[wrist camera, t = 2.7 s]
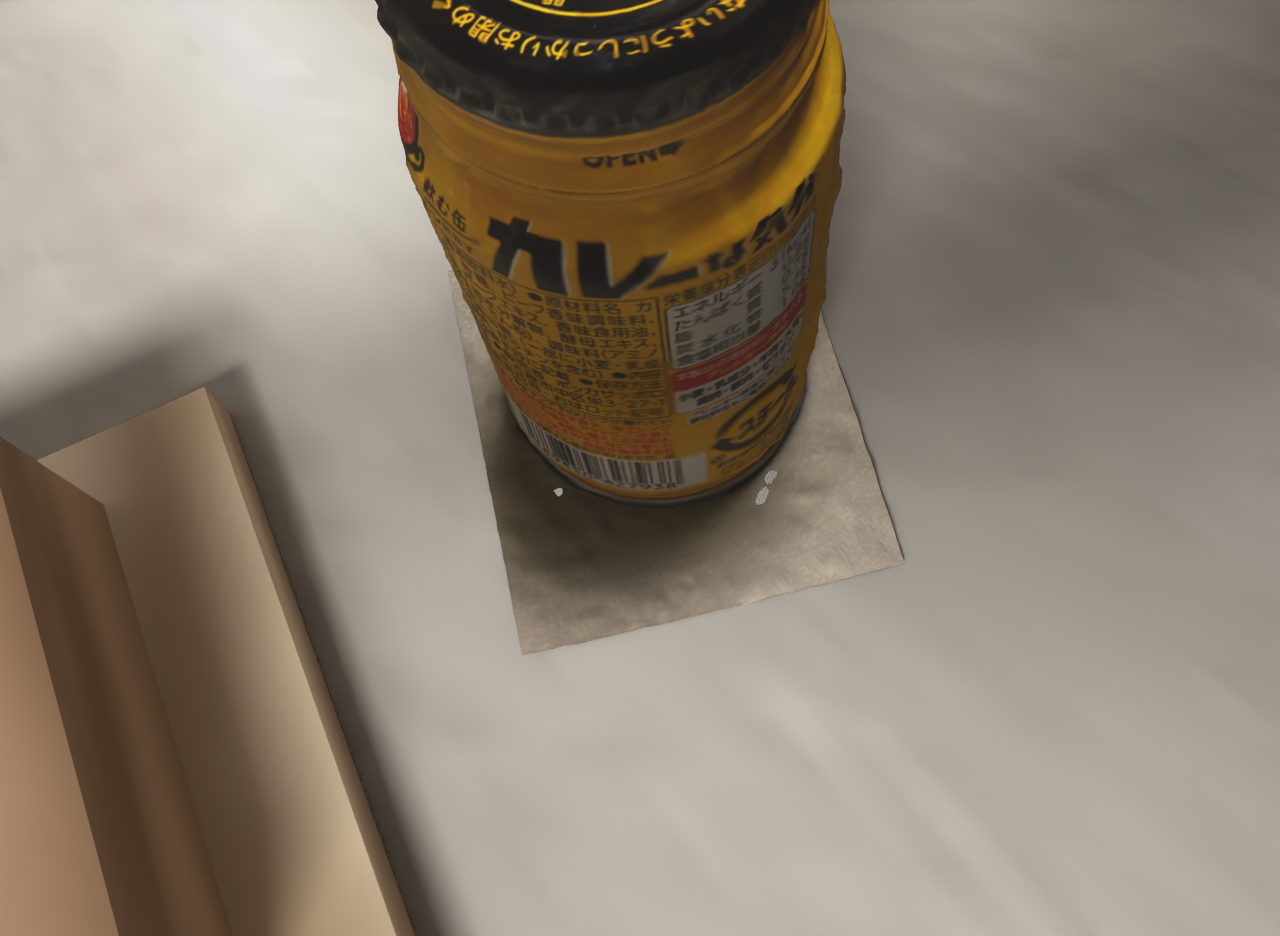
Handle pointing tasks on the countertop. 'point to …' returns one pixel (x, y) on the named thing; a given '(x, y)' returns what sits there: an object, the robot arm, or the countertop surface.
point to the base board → (168, 703)
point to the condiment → (644, 296)
